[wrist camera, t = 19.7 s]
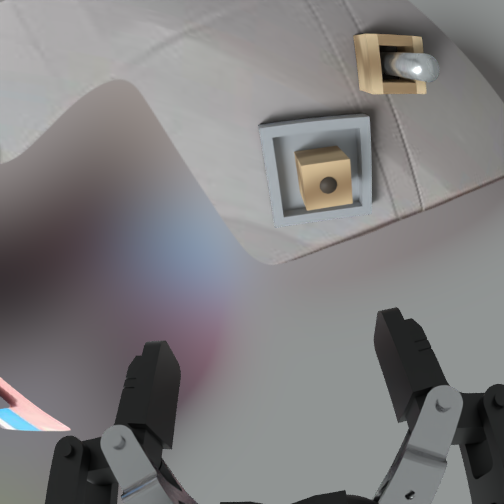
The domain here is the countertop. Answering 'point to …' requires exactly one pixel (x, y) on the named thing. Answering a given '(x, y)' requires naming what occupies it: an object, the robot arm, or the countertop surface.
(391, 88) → the oak block
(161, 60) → the countertop surface
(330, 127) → the tray
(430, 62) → the cylinder
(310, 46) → the countertop surface
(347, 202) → the block
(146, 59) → the countertop surface
